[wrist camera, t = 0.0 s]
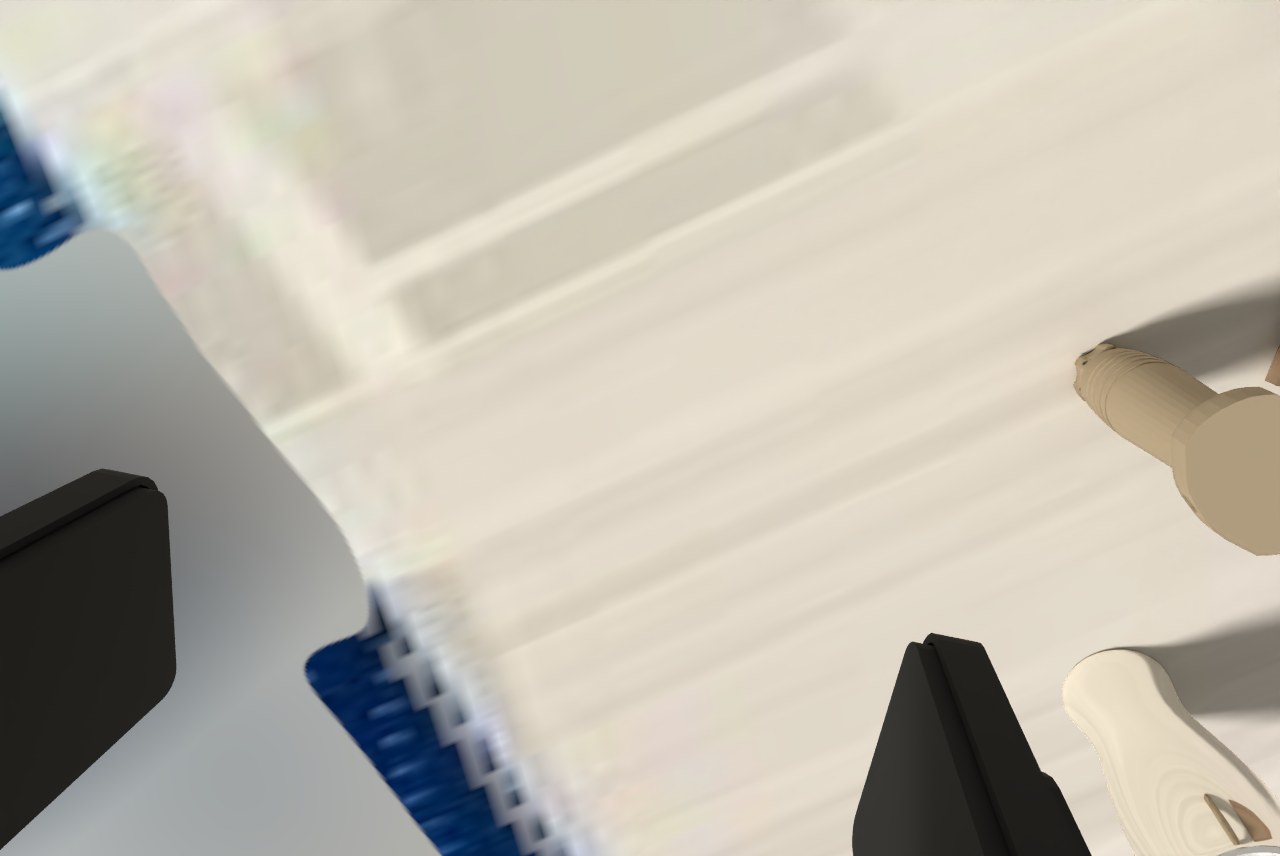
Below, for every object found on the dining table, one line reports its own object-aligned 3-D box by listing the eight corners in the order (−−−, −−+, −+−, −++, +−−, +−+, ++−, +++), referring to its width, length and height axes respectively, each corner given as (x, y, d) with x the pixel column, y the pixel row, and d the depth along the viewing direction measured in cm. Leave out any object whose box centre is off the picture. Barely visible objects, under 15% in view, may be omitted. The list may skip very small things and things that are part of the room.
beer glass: (1068, 634, 49) (1196, 831, 35) (1192, 650, 48) (1373, 858, 34) (1040, 729, 51) (1149, 951, 37) (1158, 747, 50) (1315, 979, 36)
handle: (1113, 296, 42) (1292, 369, 28) (1175, 392, 43) (1376, 509, 29) (1027, 350, 44) (1156, 446, 30) (1089, 442, 45) (1242, 576, 31)
